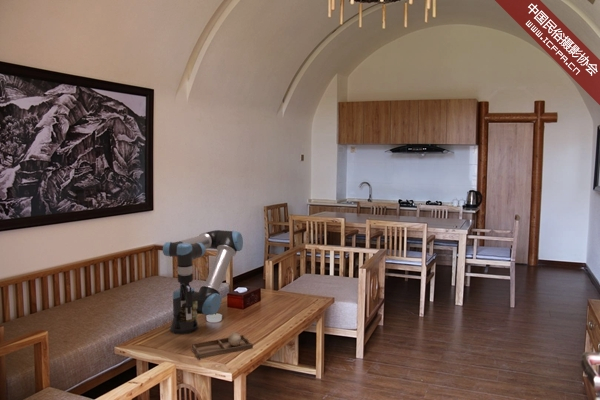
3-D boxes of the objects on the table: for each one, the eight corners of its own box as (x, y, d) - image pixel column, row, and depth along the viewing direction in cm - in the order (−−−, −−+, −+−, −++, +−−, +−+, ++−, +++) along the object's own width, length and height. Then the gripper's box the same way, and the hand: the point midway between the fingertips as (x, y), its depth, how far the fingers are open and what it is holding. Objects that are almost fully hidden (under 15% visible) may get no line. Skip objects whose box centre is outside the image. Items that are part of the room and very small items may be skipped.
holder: (191, 349, 247) (191, 344, 247) (243, 339, 259) (243, 334, 259) (199, 360, 235) (199, 354, 234) (252, 349, 247) (252, 344, 246)
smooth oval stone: (226, 344, 251) (226, 332, 251) (238, 342, 254) (238, 329, 254) (230, 349, 245) (230, 336, 245) (243, 346, 248) (242, 334, 248)
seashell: (174, 318, 255) (174, 300, 254) (196, 316, 259) (196, 298, 258) (176, 326, 245) (175, 306, 244) (199, 323, 249) (198, 304, 248)
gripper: (172, 269, 258) (174, 310, 260) (182, 280, 237) (184, 324, 240) (187, 268, 261) (188, 308, 263) (198, 278, 241) (199, 321, 243)
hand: (186, 316), depth 252 cm, fingers closed on seashell, 10 cm apart
